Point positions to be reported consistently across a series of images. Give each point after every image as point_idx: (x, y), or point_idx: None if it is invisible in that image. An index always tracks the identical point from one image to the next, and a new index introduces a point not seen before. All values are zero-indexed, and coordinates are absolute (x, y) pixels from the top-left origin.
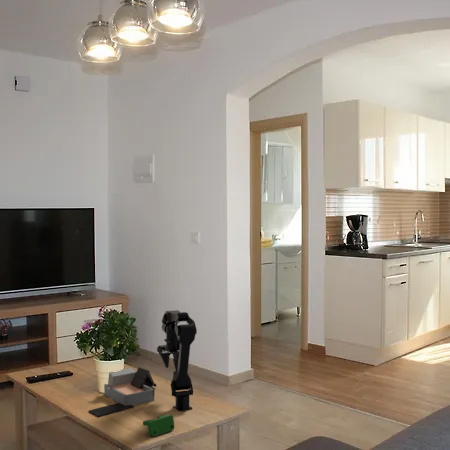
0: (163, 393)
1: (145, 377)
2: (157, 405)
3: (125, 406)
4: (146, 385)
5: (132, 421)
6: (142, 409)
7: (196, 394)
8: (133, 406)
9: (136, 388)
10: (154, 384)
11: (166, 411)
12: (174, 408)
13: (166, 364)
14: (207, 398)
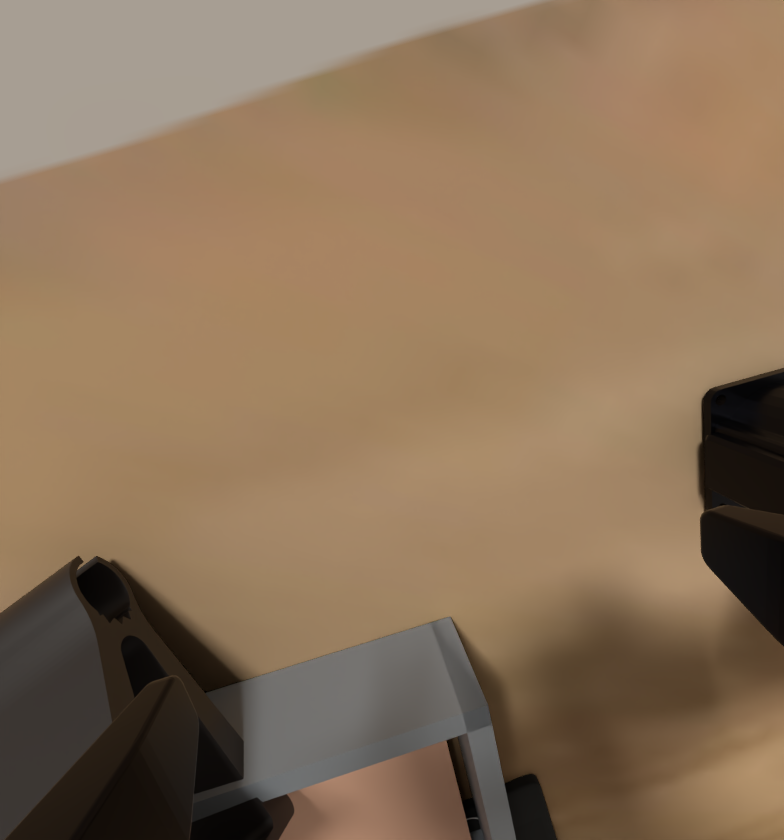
0: (272, 491)
1: None
2: (582, 612)
3: None
4: (201, 735)
5: (759, 792)
6: (603, 724)
7: (470, 117)
8: (537, 785)
9: None
10: (54, 593)
11: None
12: (740, 506)
13: (171, 833)
14: (667, 49)
